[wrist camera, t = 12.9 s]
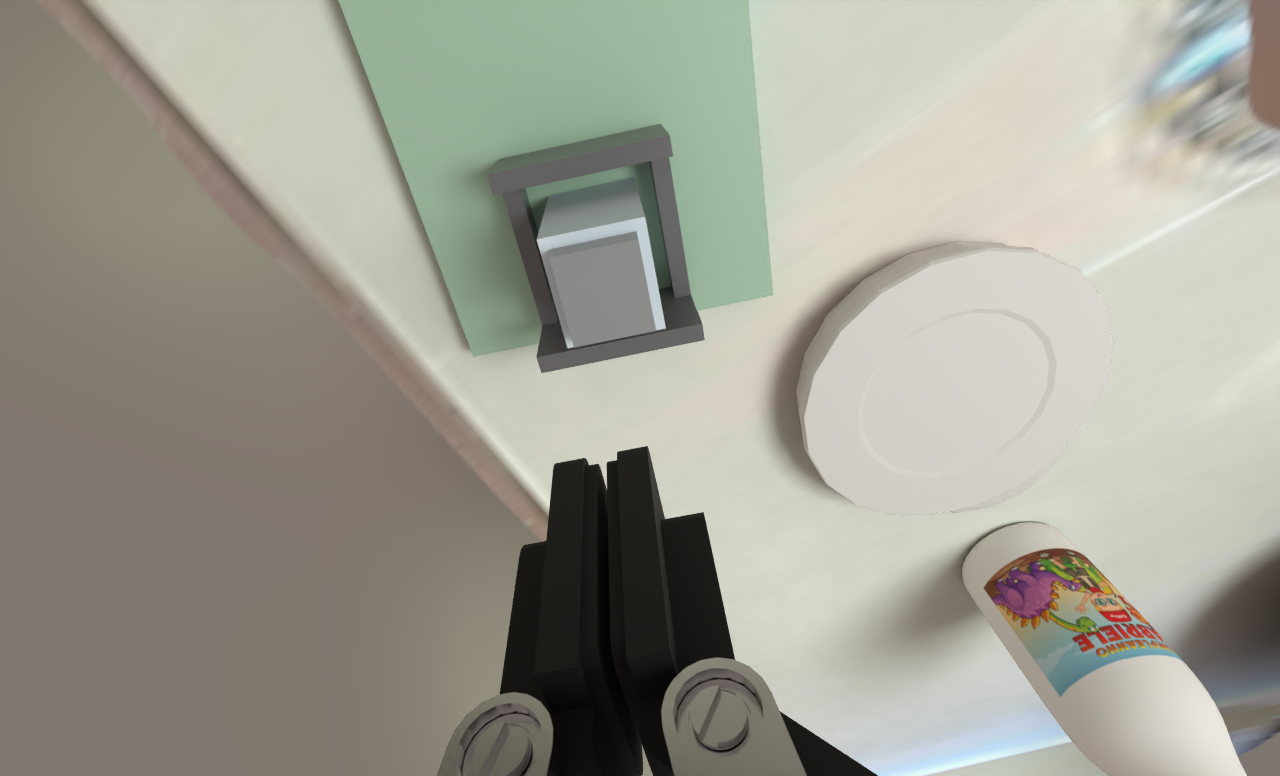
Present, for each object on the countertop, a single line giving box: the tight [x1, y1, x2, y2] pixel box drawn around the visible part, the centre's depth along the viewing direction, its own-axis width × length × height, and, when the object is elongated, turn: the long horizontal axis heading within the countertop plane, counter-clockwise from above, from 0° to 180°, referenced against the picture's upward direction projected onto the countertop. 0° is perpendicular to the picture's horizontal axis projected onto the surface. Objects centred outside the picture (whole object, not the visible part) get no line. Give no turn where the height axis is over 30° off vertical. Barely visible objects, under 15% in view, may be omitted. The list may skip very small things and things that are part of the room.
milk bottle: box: [962, 522, 1247, 776], centre depth 36 cm, size 8×8×20 cm
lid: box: [796, 241, 1114, 515], centre depth 35 cm, size 17×20×3 cm
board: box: [338, 0, 773, 357], centre depth 27 cm, size 20×16×1 cm
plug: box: [537, 178, 666, 348], centre depth 26 cm, size 5×4×8 cm
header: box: [487, 124, 704, 373], centre depth 27 cm, size 8×7×5 cm
